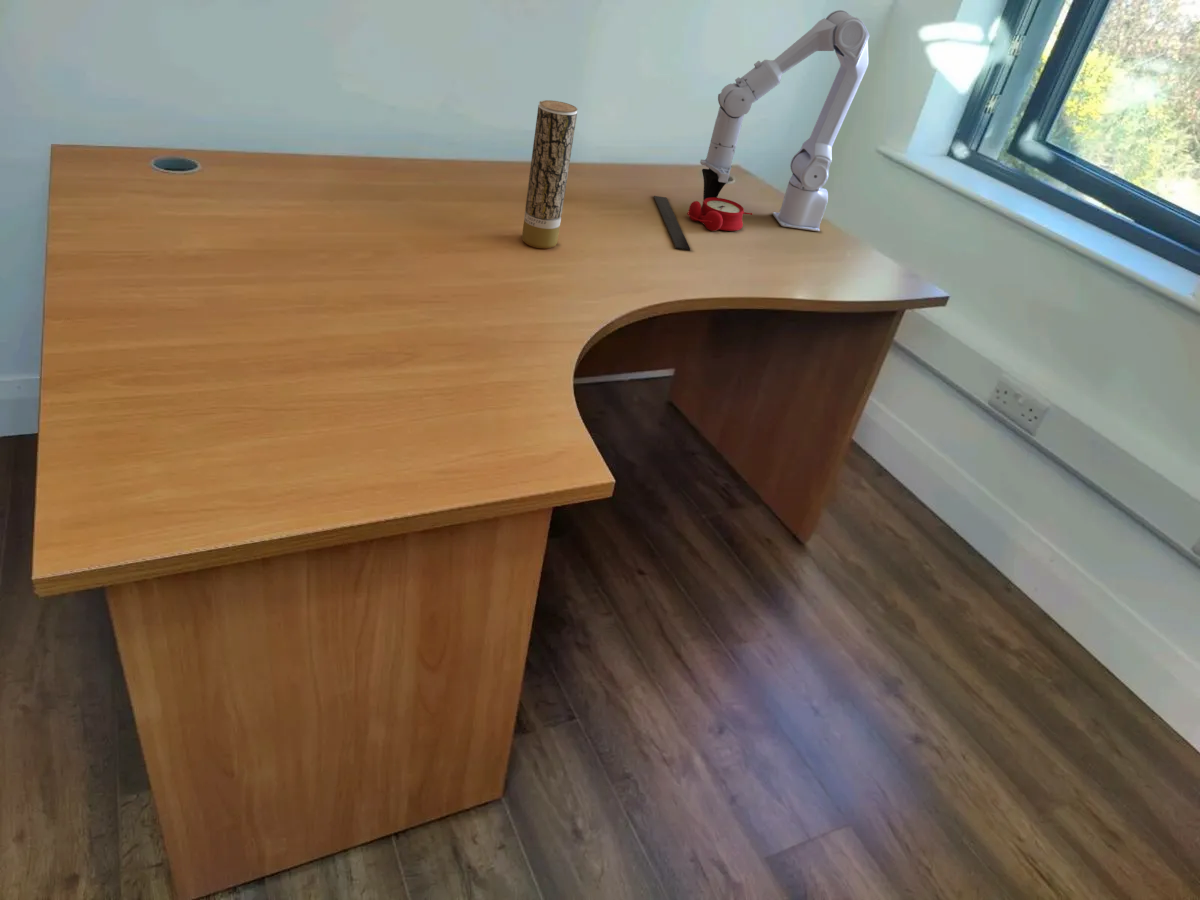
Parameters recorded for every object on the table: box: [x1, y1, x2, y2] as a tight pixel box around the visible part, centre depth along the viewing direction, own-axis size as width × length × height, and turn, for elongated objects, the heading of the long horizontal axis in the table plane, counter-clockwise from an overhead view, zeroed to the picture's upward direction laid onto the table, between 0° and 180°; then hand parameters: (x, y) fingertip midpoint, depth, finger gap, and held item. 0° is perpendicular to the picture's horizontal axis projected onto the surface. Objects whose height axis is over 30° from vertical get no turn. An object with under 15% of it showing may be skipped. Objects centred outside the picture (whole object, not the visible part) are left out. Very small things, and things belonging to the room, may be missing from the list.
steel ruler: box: [653, 195, 691, 252], centre depth 180 cm, size 3×30×1 cm, turn 6°
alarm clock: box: [686, 197, 753, 232], centre depth 183 cm, size 10×6×15 cm
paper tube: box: [521, 99, 579, 250], centre depth 151 cm, size 7×7×25 cm
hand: (708, 203), depth 190 cm, fingers closed
